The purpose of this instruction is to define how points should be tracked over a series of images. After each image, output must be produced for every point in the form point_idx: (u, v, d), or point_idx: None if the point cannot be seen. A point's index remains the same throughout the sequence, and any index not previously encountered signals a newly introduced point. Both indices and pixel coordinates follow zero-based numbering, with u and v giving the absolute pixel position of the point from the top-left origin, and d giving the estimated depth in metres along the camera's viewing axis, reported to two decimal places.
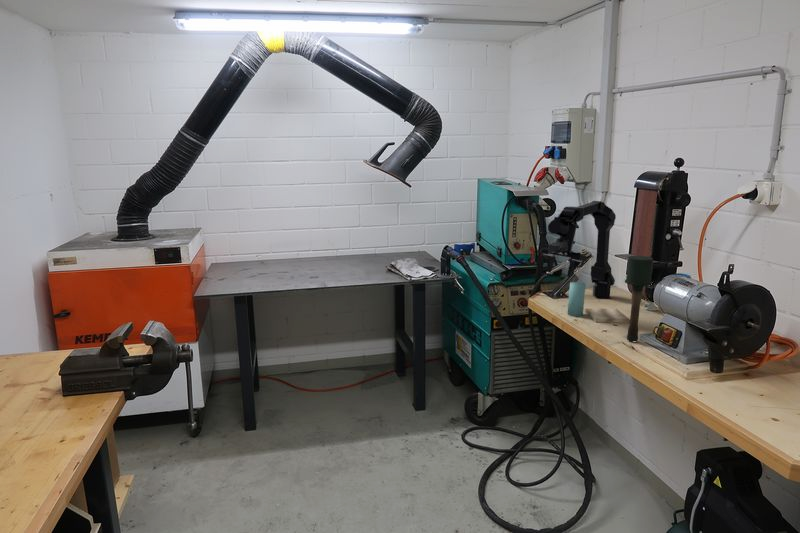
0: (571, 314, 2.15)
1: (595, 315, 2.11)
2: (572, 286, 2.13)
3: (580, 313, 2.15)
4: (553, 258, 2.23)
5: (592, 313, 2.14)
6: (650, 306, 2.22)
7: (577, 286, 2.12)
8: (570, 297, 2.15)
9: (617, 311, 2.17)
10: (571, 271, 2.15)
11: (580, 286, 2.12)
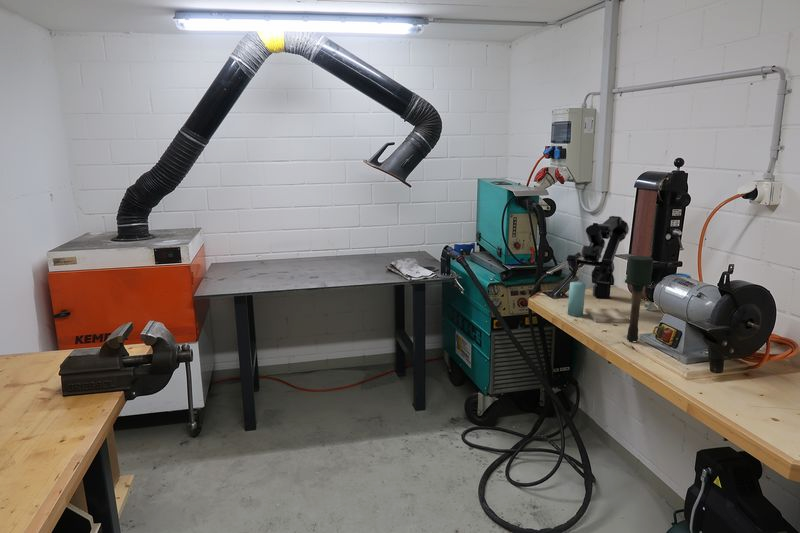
0: (571, 314, 2.15)
1: (595, 315, 2.11)
2: (572, 286, 2.13)
3: (580, 313, 2.15)
4: (577, 267, 2.27)
5: (592, 313, 2.14)
6: (650, 306, 2.22)
7: (577, 286, 2.12)
8: (570, 297, 2.15)
9: (617, 311, 2.17)
10: (599, 277, 2.18)
11: (580, 286, 2.12)
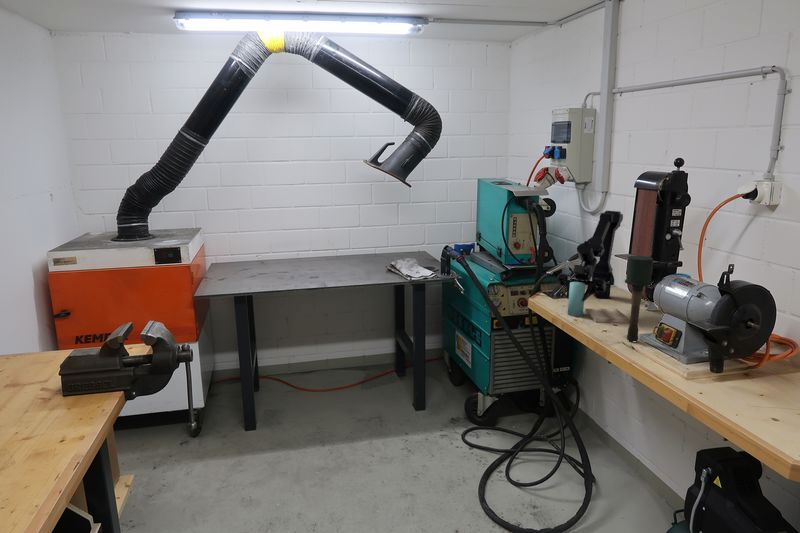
0: (571, 314, 2.15)
1: (595, 315, 2.11)
2: (572, 286, 2.13)
3: (580, 313, 2.14)
4: None
5: (592, 313, 2.14)
6: (650, 306, 2.22)
7: (577, 286, 2.12)
8: (570, 297, 2.15)
9: (617, 311, 2.17)
10: (587, 296, 2.13)
11: (580, 286, 2.12)
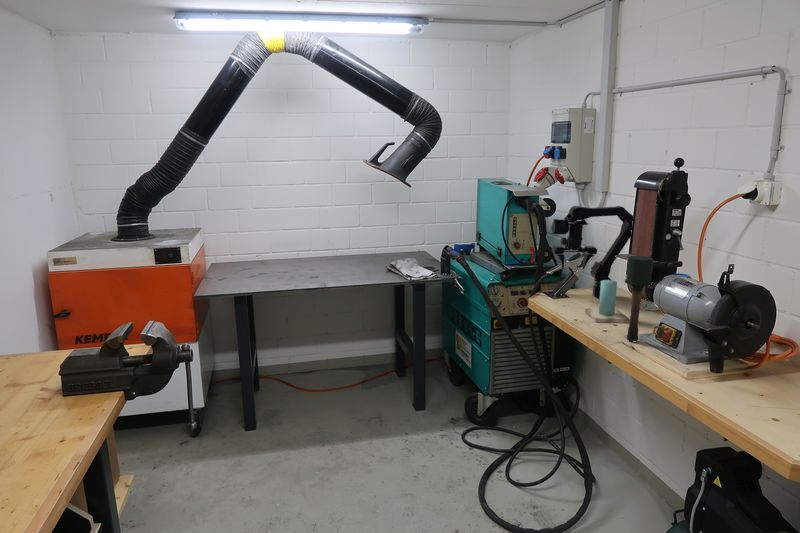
0: (605, 313, 2.11)
1: (595, 315, 2.11)
2: (606, 285, 2.09)
3: (614, 311, 2.12)
4: (586, 256, 2.38)
5: (592, 313, 2.14)
6: (650, 306, 2.22)
7: (612, 284, 2.08)
8: (604, 296, 2.11)
9: (617, 311, 2.17)
10: None
11: (614, 284, 2.09)
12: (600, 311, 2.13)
